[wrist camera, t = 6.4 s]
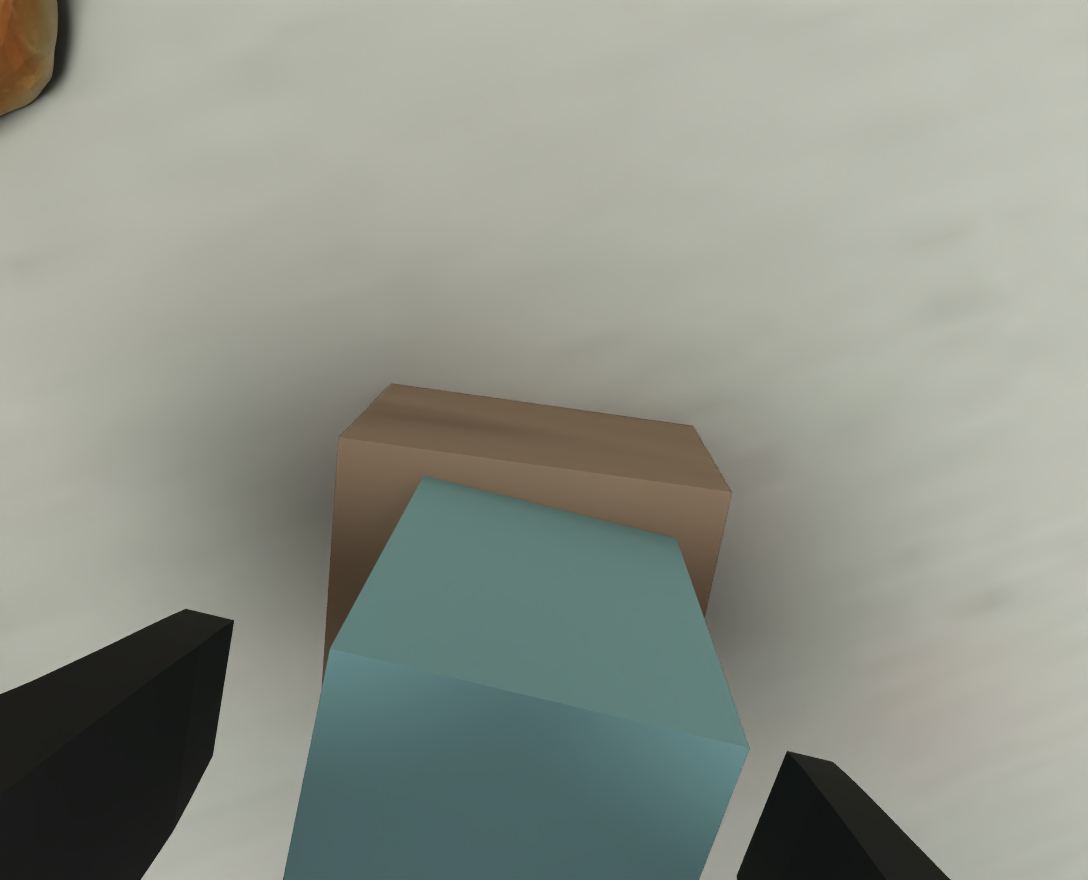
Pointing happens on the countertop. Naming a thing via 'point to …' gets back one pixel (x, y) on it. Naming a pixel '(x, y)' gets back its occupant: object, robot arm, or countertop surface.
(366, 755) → the teal block
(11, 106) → the pastry
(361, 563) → the walnut block
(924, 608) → the countertop surface
